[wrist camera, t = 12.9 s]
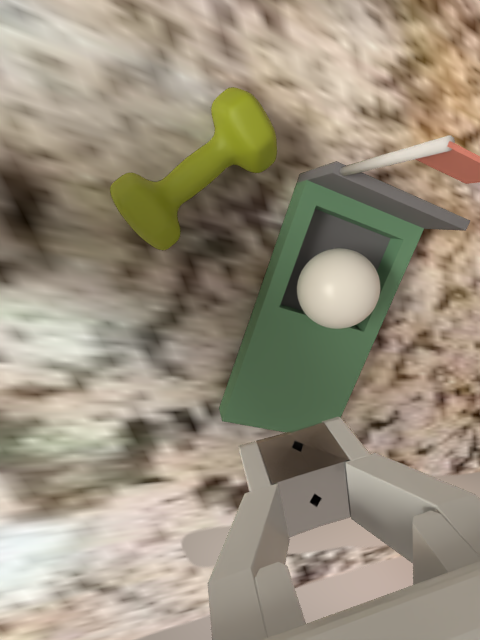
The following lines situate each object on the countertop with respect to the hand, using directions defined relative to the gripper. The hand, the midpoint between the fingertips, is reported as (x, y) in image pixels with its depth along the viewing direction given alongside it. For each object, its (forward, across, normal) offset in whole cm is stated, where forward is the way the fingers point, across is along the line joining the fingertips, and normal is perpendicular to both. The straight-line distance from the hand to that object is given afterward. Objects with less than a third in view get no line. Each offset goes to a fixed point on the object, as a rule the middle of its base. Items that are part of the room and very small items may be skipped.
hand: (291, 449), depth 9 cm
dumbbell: (+32, +1, +10) cm, 34 cm away
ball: (+27, +14, -5) cm, 31 cm away
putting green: (+32, +12, -10) cm, 35 cm away
